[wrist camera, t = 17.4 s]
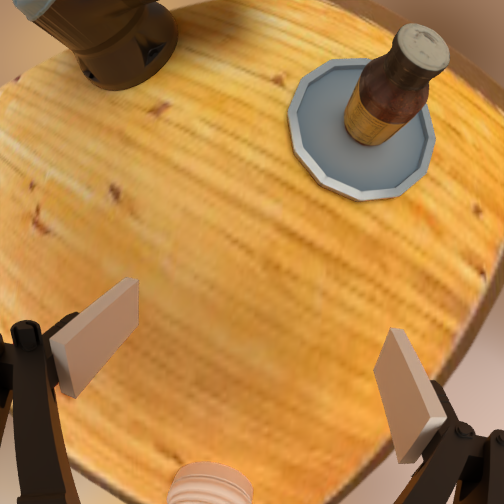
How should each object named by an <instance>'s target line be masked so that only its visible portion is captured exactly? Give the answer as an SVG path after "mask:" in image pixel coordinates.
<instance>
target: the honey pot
mask: <svg viewBox="0 0 504 504" xmlns="http://www.w3.org/2000/svg"><path fill="white" fill-rule="evenodd" d="M252 498H253V487H252V485H251V482H250V481H249V480H248V479H247V477H246V476H244V475H243V474H242V473H240V472H239V471H238V470H235V469H233V468H231V467H229V466H226V465H223V464H220V463H214V462H195V463H190V464H187V465H185V466H184V467H182V468H181V469H180V470H179V471H178V472H177V474H176V476H175V478H174V481H173V483H172V485H171V487H170V490H169V492H168V495H167V504H252Z"/></svg>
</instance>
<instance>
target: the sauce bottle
mask: <svg viewBox="0 0 504 504" xmlns="http://www.w3.org/2000/svg"><path fill="white" fill-rule="evenodd" d="M392 44H393V45H392V48H391V50H390V51H389V52H388V53H387V54H386V55H383V56H381V57H378V58H376V59H373V60H371V61H370V62H369V63H368V64H367V65H366V66H365V67H364V69H363V71H362V73H361V75H360V77H359V80H358V82H357V84H356V86H355V88H354V90H353V93H352V95H351V97H350V99H349V102H348V104H347V106H346V108H345V111H344V125H345V129H346V132H347V133H348V134H349V135H350V137H352V139H353V140H355V141H356V142H358V143H359V144H361V145H363V146H376V145H381V144H382V143H384V142H386V141H387V140H389V139H390V138H391V137H392V136H393V135H395V134H396V133H397V132H398V131H399V130H400V129H401V128H402V127H404V126H405V125H406V124H407V123H408V122H409V121H411V120H412V119H413V118H414V117H415V116H416V114H417V113H418V112H419V111H420V110H421V109H422V108H423V107H424V105H425V104H426V102H427V99H428V94H429V81H430V80H431V79H432V78H434V77H435V76H437V75H439V74H440V73H441V72H442V71H443V70H444V69H445V68H446V67H447V66H448V64H449V61H450V54H449V49H448V47H447V45H446V43H445V41H444V40H443V39H442V38H441V37H440V36H439V35H438V34H437V33H436V32H435V31H433V30H432V29H429V28H428V27H425V26H423V25H419V24H406V25H404V26H403V27H401V28H400V30H399V31H398V32H397V34H396V35H395V37H394V39H393V42H392Z"/></svg>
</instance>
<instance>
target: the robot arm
mask: <svg viewBox="0 0 504 504" xmlns="http://www.w3.org/2000/svg"><path fill="white" fill-rule="evenodd" d="M156 1H158V0H13V3H14V5H15V6H16V7H17V8H18V9H19V10H20V11H21V12H22V13H23V14H24V15H26V17H27V19H28V20H29V21H32V22H33V23H35V24H36V25H37V26H39V27H40V28H42V29H43V30H45V31H46V32H47V33H49V34H50V35H51V36H53V37H54V38H56V39H57V40H58V41H60V42H61V43H62V44H64V45H65V46H66V47H68V48H69V49H70V50H72V51H73V52H74V54H75V56H76V59H77V61H78V63H79V65H80V67H81V70H82V72H83V73H84V75H85V76H86V77H87V78H88V79H89V80H90V81H91V82H92V83H94V84H95V85H97V86H98V87H100V88H103V89H106V90H122V89H127V88H130V87H133V86H135V85H138V84H140V83H142V82H143V81H145V80H147V79H148V78H150V77H151V76H152V75H154V74H155V73H156V72H157V71H158V70H159V69H161V67H162V66H163V65H164V64H165V63H166V62H167V61H168V59H169V58H170V56H171V55H172V53H173V51H174V49H175V47H176V44H177V40H178V27H177V24H176V22H175V20H174V18H173V16H172V15H171V13H170V12H169V11H168V9H166V8H165V7H164V6H162V5H161V4H159V3H157V2H156ZM138 300H139V280H137V279H133V278H129V277H125V278H124V279H123V280H121V281H120V282H119V283H118V284H116V285H115V286H114V287H112V288H111V289H110V290H109V291H107V292H106V293H105V294H104V295H102V296H101V297H100V298H99V299H97V300H96V301H95V302H93V303H92V304H91V305H90V306H89V307H87V308H86V309H85V310H84V311H82V312H81V313H78V312H74V313H71V314H69V315H66V316H65V317H64V318H63V319H61V320H60V322H58V323H56V324H55V326H53V327H51V328H50V329H49V330H48V331H46V332H45V333H44V334H43V335H42V334H41V329H40V326H39V324H38V323H37V322H35V321H32V320H24V321H19V322H17V323H15V324H14V325H13V326H12V327H11V329H10V331H11V335H12V339H13V343H14V344H9V343H4V342H3V338H2V335H1V334H0V446H1V442H2V437H3V433H4V429H5V425H6V421H7V417H8V414H9V410H10V406H11V403H12V399H13V424H14V440H15V451H16V461H17V469H18V477H19V484H20V489H21V496H20V497H18V498H17V504H81V503H80V500H79V497H78V493H77V490H76V487H75V483H74V480H73V477H72V473H71V469H70V465H69V461H68V457H67V453H66V448H65V444H64V439H63V435H62V430H61V424H60V419H59V413H58V407H57V401H56V394H55V390H54V387H55V386H56V384H57V383H58V382H59V385H60V389H61V392H62V393H64V394H66V395H68V396H71V397H73V398H75V399H76V398H77V397H78V396H79V394H80V393H81V392H82V391H83V390H84V388H85V387H86V386H87V385H88V384H89V382H90V381H91V380H92V379H93V378H94V376H95V375H96V374H97V373H98V372H99V370H100V369H101V368H102V367H103V366H104V365H105V363H106V362H107V361H108V360H109V359H110V357H111V356H112V355H113V354H114V353H115V352H116V350H117V349H118V348H119V347H120V346H121V345H122V344H123V342H124V341H125V340H126V339H127V338H128V337H129V335H130V334H131V333H132V332H133V331H134V330H135V329H136V327H137V326H138V325H139V313H138ZM373 371H374V374H375V378H376V381H377V384H378V388H379V391H380V395H381V398H382V402H383V405H384V409H385V413H386V416H387V420H388V424H389V427H390V431H391V435H392V439H393V443H394V447H395V451H396V455H397V459H398V463H399V464H406V463H407V464H409V463H415V462H416V461H417V459H418V458H419V457H420V455H421V454H422V457H423V460H424V461H423V463H422V464H421V465H420V466H419V468H418V469H417V470H416V472H414V474H413V475H412V478H411V480H410V481H409V483H408V484H407V486H406V487H405V489H404V490H403V491H402V493H401V494H400V495H399V497H398V498H397V500H396V501H395V502H394V504H446V502H447V501H448V499H449V497H450V495H451V493H452V491H453V489H454V487H455V485H456V490H455V495H454V501H453V504H504V431H503V430H499V429H497V430H494V431H493V432H492V433H491V434H490V436H489V437H482V436H478V435H476V434H475V431H474V429H473V428H472V427H471V426H470V425H468V424H467V423H464V422H461V421H459V420H458V418H457V416H456V414H455V411H454V409H453V407H452V406H451V404H450V402H449V399H448V397H447V396H446V394H445V392H444V390H443V388H442V387H441V386H440V385H439V384H438V383H437V382H436V381H435V380H429V378H428V376H427V374H426V372H425V370H424V368H423V366H422V364H421V362H420V360H419V358H418V356H417V354H416V352H415V351H414V349H413V347H412V345H411V343H410V341H409V339H408V337H407V336H406V334H405V332H404V330H403V329H397V328H390V330H389V332H388V335H387V337H386V340H385V343H384V345H383V348H382V350H381V353H380V355H379V358H378V360H377V363H376V365H375V367H374V370H373ZM456 483H457V484H456Z"/></svg>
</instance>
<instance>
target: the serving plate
mask: <svg viewBox="0 0 504 504" xmlns="http://www.w3.org/2000/svg"><path fill="white" fill-rule="evenodd" d="M370 61H371V60H370V59H367V58H356V59H331V60H329V61H328V62H326V63H325V64H323V65H321V66H320V67H318V68H317V69H315V70H314V71H312V72H310V73H309V74H307V75H306V76H304V77H303V78H302V79H301V81H300V83H299V85H298V88H297V90H296V92H295V95H294V97H293V100H292V102H291V104H290V107H289V109H288V114H287V118H288V124H289V129H290V135H291V140H292V146H293V152H294V155H295V156H296V157H297V159H298V160H299V161H300V162H301V163H302V165H303V166H304V167H305V168H306V170H307V171H308V172H309V173H310V174H311V176H312V177H313V178H314V179H315V181H316V182H317V183H318V184H319V185H320V186H321V187H323V188H326V189H328V190H330V191H333V192H335V193H337V194H340V195H342V196H344V197H347V198H349V199H351V200H353V201H356V202H362V201H370V200H379V199H388V198H395V197H399V196H400V195H402V194H403V193H404V192H405V191H406V190H408V189H409V188H410V187H411V186H412V185H413V184H415V183H416V182H417V181H418V180H419V179H420V178H422V177H423V176H424V175H425V174H426V173H427V170H428V166H429V163H430V159H431V156H432V152H433V148H434V145H435V141H436V140H435V139H436V138H435V133H434V129H433V125H432V121H431V117H430V113H429V110H428V106H427V104H425V105H424V107H423V108H422V109H421V110H420V111H419V112H418V113H417V114H416V116H415V117H414V118H413V119H412V120H411V121H409V122H408V123H407V124H406V125H405V126H404V127H402V128H401V129H400V130H399V131H398V132H397V133H396V134H395V135H393V136H392V137H391V138H390V139H389V140H387V141H386V142H384V143H382V144H381V145H376V146H363V145H361V144H359V143H358V142H356V141H355V140H353V139H352V137H350V135H349V134H348V133H347V132H346V129H345V125H344V111H345V108H346V106H347V104H348V102H349V99H350V97H351V95H352V93H353V90H354V88H355V86H356V84H357V82H358V80H359V77H360V75H361V73H362V71H363V69H364V67H365V66H366V65H367V64H368V63H369V62H370Z"/></svg>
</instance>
